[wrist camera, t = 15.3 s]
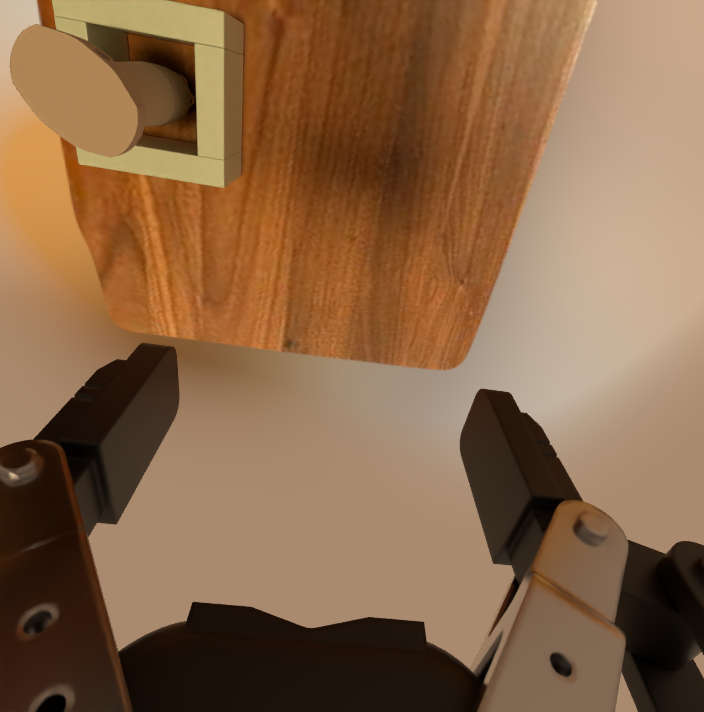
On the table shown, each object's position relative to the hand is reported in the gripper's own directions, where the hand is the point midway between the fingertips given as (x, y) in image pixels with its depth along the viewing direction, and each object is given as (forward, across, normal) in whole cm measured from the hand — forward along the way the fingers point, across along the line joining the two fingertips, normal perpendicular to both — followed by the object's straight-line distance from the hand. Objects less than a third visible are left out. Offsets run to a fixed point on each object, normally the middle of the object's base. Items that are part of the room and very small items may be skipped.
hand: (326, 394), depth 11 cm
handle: (+32, +15, -4) cm, 36 cm away
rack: (+32, +15, -4) cm, 36 cm away
